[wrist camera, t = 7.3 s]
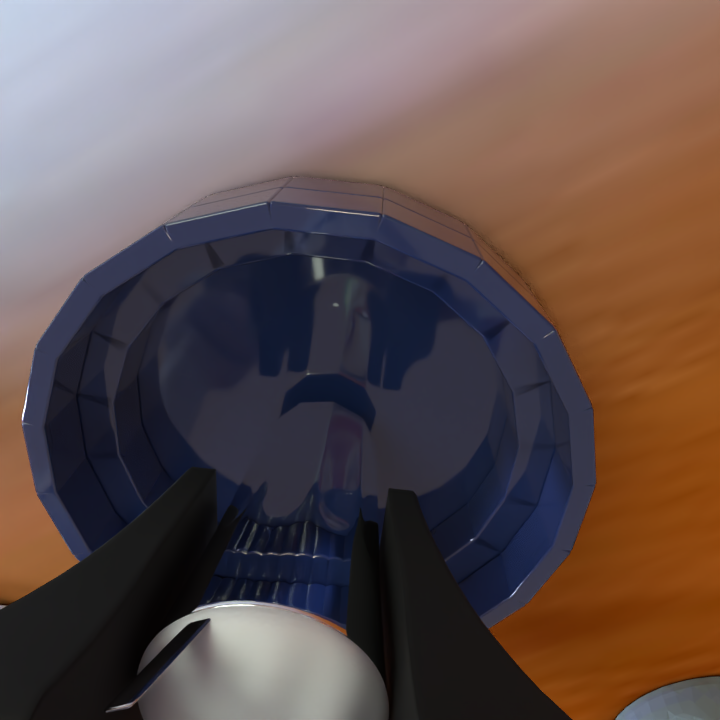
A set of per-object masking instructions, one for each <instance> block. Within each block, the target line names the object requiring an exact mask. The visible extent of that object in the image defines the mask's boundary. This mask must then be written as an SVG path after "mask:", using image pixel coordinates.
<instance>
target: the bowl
mask: <svg viewBox="0 0 720 720" xmlns="http://www.w3.org/2000/svg"><path fill="white" fill-rule="evenodd" d="M322 401H334V402H336V403H338V404H340V405H341V406H343V407H345V408H347V409H348V410H350V411H352V412H354V413H356V414H357V415H359V416H361V417H363V419H364V421H365V423H366V425H367V428H368V430H369V432H370V434H371V436H372V438H373V440H374V442H375V445H376V462H377V494H378V526H379V548H380V541H381V535H382V528H383V522H384V515H385V509H386V502H387V496H388V489H389V488H392V489H401V490H411V491H414V493H415V494H416V495H417V499H418V502H419V505H420V508H421V510H422V513H423V515H424V518H425V520H426V523H427V525H428V527H429V530H430V532H431V534H432V536H433V539H434V541H435V543H436V545H437V547H438V549H439V551H440V553H441V555H442V557H443V559H444V561H445V562H446V564H447V566H448V568H449V570H450V572H451V573H452V575H453V577H454V578H455V580H456V582H457V584H458V585H459V587H460V589H461V590H462V592H463V593H464V595H465V597H466V598H467V600H468V601H469V603H470V604H471V606H472V607H473V609H474V610H475V612H476V613H477V614H478V616H479V617H480V619H481V620H482V621H483V623H484V624H485V625H486V627H487V628H488V629H489V628H491V627H492V626H494V625H495V624H497V623H499V622H500V621H502V620H503V619H505V618H506V617H508V616H510V615H511V614H513V613H514V612H516V611H517V610H519V609H520V608H522V607H524V606H525V604H527V603H528V602H529V601H530V600H531V599H532V598H533V596H534V595H535V594H536V593H537V592H538V591H539V589H540V588H541V587H542V586H543V585H544V584H545V582H546V581H547V580H548V579H549V578H550V576H551V575H552V574H553V573H554V572H555V571H556V569H557V568H558V567H559V566H560V565H561V564H562V562H563V561H564V560H565V559H566V558H567V556H568V555H569V554H570V552H571V550H572V549H573V546H574V543H575V541H576V538H577V535H578V532H579V530H580V527H581V524H582V521H583V519H584V516H585V513H586V511H587V508H588V505H589V502H590V500H591V497H592V494H593V491H594V489H595V484H596V462H595V438H594V414H593V408H592V404H591V401H590V399H589V397H588V395H587V393H586V391H585V389H584V387H583V384H582V382H581V380H580V378H579V376H578V374H577V372H576V370H575V367H574V365H573V363H572V361H571V359H570V357H569V355H568V353H567V350H566V348H565V346H564V344H563V342H562V340H561V338H560V335H559V333H558V331H557V329H556V328H555V326H554V325H553V323H552V322H551V320H550V319H549V317H548V316H547V314H546V313H545V311H544V310H543V308H542V307H541V305H540V304H539V302H538V301H537V299H536V298H535V296H534V295H533V293H532V292H531V290H530V289H529V287H528V286H527V284H526V283H525V282H524V280H523V279H522V278H521V277H520V276H519V275H518V274H517V273H516V272H515V271H514V270H513V269H512V268H511V267H510V266H509V265H508V264H507V263H506V262H505V261H504V260H503V259H502V258H500V257H499V256H498V255H497V254H496V253H495V252H494V251H493V250H492V249H491V248H490V247H489V246H488V245H487V244H486V243H485V242H484V241H483V240H482V239H481V238H480V237H479V236H478V235H477V234H476V233H475V232H474V231H473V230H472V229H471V228H469V227H468V226H467V225H464V223H463V222H461V221H459V220H457V219H455V218H453V217H451V216H448V215H446V214H444V213H442V212H440V211H438V210H436V209H433V208H431V207H429V206H427V205H425V204H423V203H420V202H418V201H416V200H414V199H412V198H410V197H407V196H405V195H403V194H401V193H399V192H397V191H394V190H392V189H390V188H388V187H384V188H383V186H381V185H373V184H364V183H355V182H346V181H337V180H328V179H319V178H309V177H300V176H295V177H286V178H282V179H277V180H273V181H268V182H264V183H260V184H255V185H251V186H246V187H242V188H237V189H233V190H229V191H224V192H220V193H215V194H211V195H209V196H208V197H205V198H203V199H201V200H200V201H198V202H197V203H195V204H194V205H192V206H190V207H189V208H187V209H186V210H184V211H183V212H181V213H179V214H178V215H176V216H175V217H173V218H172V219H170V220H168V221H167V222H165V223H164V224H162V225H161V226H159V227H158V228H156V229H154V230H153V231H151V232H150V233H148V234H147V235H145V236H144V237H142V238H141V239H139V240H137V241H136V242H134V243H133V244H131V245H130V246H128V247H127V248H125V249H124V250H122V251H121V252H119V253H117V254H116V255H114V256H113V257H111V258H110V259H108V260H107V261H105V262H104V263H102V264H100V265H99V266H97V267H96V268H94V269H93V270H91V271H90V272H88V273H87V274H85V275H84V277H82V278H81V279H80V281H79V282H78V284H77V285H76V287H75V288H74V290H73V291H72V292H71V294H70V295H69V297H68V298H67V300H66V301H65V303H64V304H63V306H62V307H61V309H60V310H59V312H58V313H57V315H56V316H55V317H54V319H53V320H52V322H51V323H50V325H49V326H48V328H47V329H46V331H45V332H44V334H43V335H42V337H41V338H40V340H39V341H38V343H37V344H36V348H35V350H34V355H33V361H32V366H31V372H30V377H29V383H28V388H27V394H26V399H25V405H24V410H23V416H22V428H23V433H24V438H25V443H26V447H27V452H28V457H29V461H30V466H31V471H32V476H33V480H34V485H35V490H36V492H37V496H38V497H39V499H40V501H41V502H42V504H43V506H44V507H45V509H46V511H47V512H48V514H49V516H50V517H51V519H52V521H53V522H54V524H55V526H56V527H57V529H58V531H59V532H60V534H61V536H62V537H63V539H64V541H65V542H66V544H67V546H68V547H69V549H70V551H71V552H72V554H73V555H75V557H76V558H77V559H78V560H79V561H82V560H83V559H85V558H86V557H88V556H89V555H90V554H92V553H93V552H94V551H96V550H97V549H98V548H100V547H101V546H102V545H104V544H105V543H106V542H107V541H109V540H110V539H111V538H112V537H114V536H115V535H116V534H117V533H119V532H120V531H121V530H122V529H124V528H125V527H126V526H127V525H129V524H130V523H131V522H132V521H133V520H134V519H136V518H137V517H138V516H139V515H140V514H141V513H142V512H143V511H145V510H146V509H147V508H148V507H149V506H150V505H151V504H152V503H154V502H155V501H156V500H157V499H158V498H159V497H160V496H161V495H162V494H163V493H164V492H165V491H166V490H167V489H169V488H170V487H171V486H172V485H173V484H174V483H175V482H176V481H177V480H178V479H179V478H180V477H181V476H182V475H183V474H184V473H185V472H186V471H187V470H188V469H190V468H191V467H200V468H209V469H216V484H217V525H219V523H220V521H221V519H222V517H223V515H224V514H225V512H226V510H227V508H228V506H229V504H230V502H231V501H232V499H233V497H234V495H235V493H236V491H237V490H238V488H239V486H240V484H241V482H242V480H243V478H244V477H245V475H246V473H247V471H248V469H249V467H250V466H251V464H252V462H253V460H254V458H255V456H256V454H257V453H258V451H259V449H260V447H261V445H262V443H263V442H264V440H265V438H266V436H267V434H268V432H269V431H270V429H271V427H272V425H273V423H274V422H275V420H276V419H278V418H279V417H280V416H282V415H283V414H285V413H286V412H287V411H289V410H290V409H291V408H293V407H294V406H295V405H297V404H298V403H300V402H322Z"/></svg>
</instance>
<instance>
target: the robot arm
mask: <svg viewBox="0 0 720 720" xmlns="http://www.w3.org/2000/svg"><path fill="white" fill-rule="evenodd" d="M217 527H218V525H217V484H216V469H209V468H200V467H191V468H190V469H188V470H187V471H186V472H185V473H184V474H183V475H182V476H181V477H180V478H179V479H178V480H177V481H176V482H175V483H174V484H173V485H172V486H171V487H170V488H169V489H167V490H166V491H165V492H164V493H163V494H162V495H161V496H160V497H159V498H158V499H157V500H156V501H155V502H154V503H152V504H151V505H150V506H149V507H148V508H147V509H146V510H145V511H143V512H142V513H141V514H140V515H139V516H138V517H137V518H136V519H134V520H133V521H132V522H131V523H130V524H129V525H127V526H126V527H125V528H124V529H122V530H121V531H120V532H119V533H117V534H116V535H115V536H114V537H112V538H111V539H110V540H109V541H107V542H106V543H105V544H104V545H102V546H101V547H100V548H98V549H97V550H96V551H94V552H93V553H92V554H90V555H89V556H88V557H86V558H85V559H83V560H82V561H80V562H79V563H78V564H76V565H75V566H73V567H72V568H70V569H69V570H67V571H66V572H64V573H63V574H61V575H59V576H58V577H56V578H55V579H53V580H51V581H50V582H48V583H46V584H45V585H43V586H41V587H39V588H38V589H36V590H34V591H33V592H31V593H29V594H28V595H26V596H24V597H23V598H21V599H19V600H17V601H15V602H13V603H11V604H10V605H8V606H6V605H0V720H143V717H142V715H141V712H140V709H139V705H138V701H137V702H136V703H135V704H134V705H133V706H132V707H130V708H128V709H124V710H119V711H114V712H109V713H105V712H104V709H105V708H106V707H107V706H108V704H109V703H110V702H111V701H112V700H113V699H114V698H115V697H116V696H117V695H118V694H119V693H120V692H121V691H122V690H123V689H124V688H125V687H126V686H127V685H128V684H129V683H130V682H131V681H132V680H133V679H134V678H135V677H136V676H137V672H138V668H139V664H140V661H141V658H142V656H143V654H144V652H145V650H146V648H147V647H148V645H149V644H150V642H151V640H152V639H153V637H154V635H155V633H156V632H157V630H158V628H159V627H160V625H161V623H162V622H163V620H164V618H165V616H166V615H167V613H168V611H169V610H170V608H171V606H172V605H173V603H174V601H175V599H176V598H177V596H178V594H179V593H180V591H181V589H182V588H183V586H184V584H185V582H186V581H187V579H188V577H189V576H190V574H191V572H192V571H193V569H194V567H195V565H196V564H197V562H198V560H199V559H200V557H201V555H202V553H203V552H204V550H205V548H206V547H207V545H208V543H209V541H210V539H211V538H212V536H213V534H214V532H215V530H216V529H217ZM379 564H380V589H381V605H382V621H383V636H384V651H385V666H386V682H387V695H388V701H389V720H572V719H571V718H570V717H569V716H568V715H567V714H566V713H565V712H564V711H562V710H561V709H560V708H559V707H558V706H557V705H556V704H555V703H554V702H553V701H552V700H551V699H550V698H549V697H548V696H546V695H545V694H544V693H543V692H542V691H541V690H540V689H539V688H538V687H537V686H536V685H535V684H534V682H533V681H532V680H531V679H530V678H529V677H528V676H527V675H526V674H525V673H524V672H523V671H522V670H521V668H520V667H519V666H518V665H517V664H516V663H515V661H514V660H513V659H512V658H511V657H510V655H509V654H508V653H507V652H506V651H505V649H504V648H503V647H502V646H501V645H500V643H499V642H498V641H497V640H496V639H495V637H494V636H493V635H492V634H491V632H490V631H489V630H488V628H487V627H486V625H485V624H484V623H483V621H482V620H481V619H480V617H479V616H478V614H477V613H476V612H475V610H474V609H473V607H472V606H471V604H470V603H469V601H468V600H467V598H466V597H465V595H464V593H463V592H462V590H461V589H460V587H459V585H458V584H457V582H456V580H455V578H454V577H453V575H452V573H451V572H450V570H449V568H448V566H447V564H446V562H445V561H444V559H443V557H442V555H441V553H440V551H439V549H438V547H437V545H436V543H435V541H434V539H433V536H432V534H431V532H430V530H429V527H428V525H427V523H426V520H425V518H424V515H423V513H422V510H421V508H420V505H419V502H418V499H417V495H416V494H415V493H414V491H411V490H401V489H392V488H389V489H388V496H387V502H386V509H385V515H384V522H383V528H382V535H381V541H380V548H379Z"/></svg>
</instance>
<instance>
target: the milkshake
mask: <svg viewBox="0 0 720 720" xmlns="http://www.w3.org/2000/svg"><path fill="white" fill-rule="evenodd" d="M137 701H138V705H139V709H140V712H141V715H142V717H143V720H389V701H388V695H387V682H386V666H385V651H384V636H383V621H382V605H381V589H380V564H379V526H378V494H377V462H376V445H375V442H374V440H373V438H372V436H371V434H370V432H369V430H368V428H367V425H366V423H365V421H364V419H363V417H361V416H359V415H357V414H356V413H354V412H352V411H350V410H348V409H347V408H345V407H343V406H341V405H340V404H338V403H336V402H334V401H322V402H300V403H298V404H297V405H295V406H294V407H293V408H291V409H290V410H289V411H287V412H286V413H285V414H283V415H282V416H280V417H279V418H278V419H276V420H275V422H274V423H273V425H272V427H271V429H270V431H269V432H268V434H267V436H266V438H265V440H264V442H263V443H262V445H261V447H260V449H259V451H258V453H257V454H256V456H255V458H254V460H253V462H252V464H251V466H250V467H249V469H248V471H247V473H246V475H245V477H244V478H243V480H242V482H241V484H240V486H239V488H238V490H237V491H236V493H235V495H234V497H233V499H232V501H231V502H230V504H229V506H228V508H227V510H226V512H225V514H224V515H223V517H222V519H221V521H220V523H219V525H218V527H217V529H216V530H215V532H214V534H213V536H212V538H211V539H210V541H209V543H208V545H207V547H206V548H205V550H204V552H203V553H202V555H201V557H200V559H199V560H198V562H197V564H196V565H195V567H194V569H193V571H192V572H191V574H190V576H189V577H188V579H187V581H186V582H185V584H184V586H183V588H182V589H181V591H180V593H179V594H178V596H177V598H176V599H175V601H174V603H173V605H172V606H171V608H170V610H169V611H168V613H167V615H166V616H165V618H164V620H163V622H162V623H161V625H160V627H159V628H158V630H157V632H156V633H155V635H154V637H153V639H152V640H151V642H150V644H149V645H148V647H147V648H146V650H145V652H144V654H143V656H142V658H141V661H140V664H139V668H138V672H137V676H136V677H135V678H134V679H133V680H132V681H131V682H130V683H129V684H128V685H127V686H126V687H125V688H124V689H123V690H122V691H121V692H120V693H119V694H118V695H117V696H116V697H115V698H114V699H113V700H112V701H111V702H110V703H109V704H108V706H107V707H106V708H105V709H104V712H105V713H109V712H114V711H119V710H124V709H128V708H130V707H132V706H133V705H134V704H135V703H136V702H137Z"/></svg>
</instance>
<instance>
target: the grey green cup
mask: <svg viewBox="0 0 720 720" xmlns="http://www.w3.org/2000/svg"><path fill="white" fill-rule="evenodd" d="M615 720H720V676H717V677H705V678H697V679H691V680H686V681H682V682H678V683H674V684H671V685H668V686H664V687H661V688H659V689H657V690H655V691H652V692H650V693H648V694H646V695H644V696H642V697H640V698H639V699H637V700H636V701H634V702H633V703H632V704H630V705H629V706H627V707H626V708H625V709H624V710H623V711H622V712H621V713H620V714H619V715H618V716H617V718H616V719H615Z"/></svg>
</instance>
